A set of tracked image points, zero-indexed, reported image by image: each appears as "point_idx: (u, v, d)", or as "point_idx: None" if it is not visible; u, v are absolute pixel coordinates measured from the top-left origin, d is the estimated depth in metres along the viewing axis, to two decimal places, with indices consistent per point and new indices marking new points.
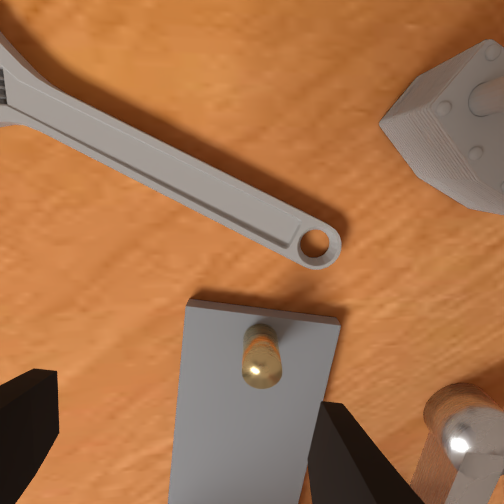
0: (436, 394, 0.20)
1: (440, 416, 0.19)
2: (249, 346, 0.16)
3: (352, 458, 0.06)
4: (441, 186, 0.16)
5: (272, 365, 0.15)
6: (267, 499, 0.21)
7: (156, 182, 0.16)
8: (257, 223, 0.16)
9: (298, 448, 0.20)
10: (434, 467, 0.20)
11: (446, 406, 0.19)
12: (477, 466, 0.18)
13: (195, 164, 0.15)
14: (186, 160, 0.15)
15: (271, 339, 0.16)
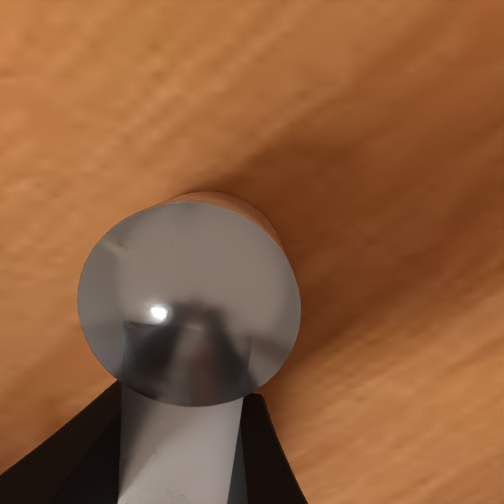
0: None
1: None
2: None
3: (243, 446, 0.06)
4: None
5: None
6: None
7: None
8: None
9: None
10: None
11: None
12: (171, 368, 0.06)
13: None
14: None
15: None
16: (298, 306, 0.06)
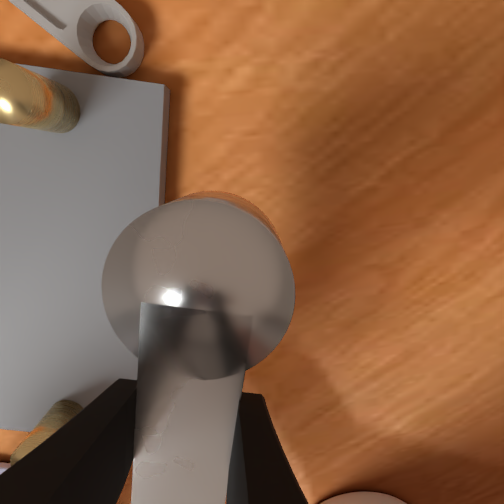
0: None
1: None
2: None
3: (243, 446, 0.06)
4: None
5: (13, 79, 0.10)
6: (110, 363, 0.16)
7: None
8: None
9: None
10: None
11: None
12: (181, 345, 0.07)
13: None
14: None
15: (44, 77, 0.11)
16: (292, 289, 0.07)
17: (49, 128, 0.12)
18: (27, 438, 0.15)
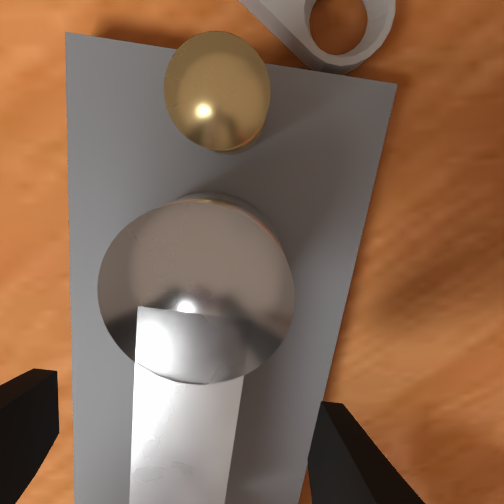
0: None
1: None
2: None
3: (352, 458, 0.06)
4: None
5: (244, 71, 0.06)
6: (250, 465, 0.12)
7: None
8: None
9: (306, 366, 0.11)
10: None
11: None
12: (179, 350, 0.07)
13: None
14: None
15: None
16: (292, 293, 0.07)
17: (238, 151, 0.08)
18: None
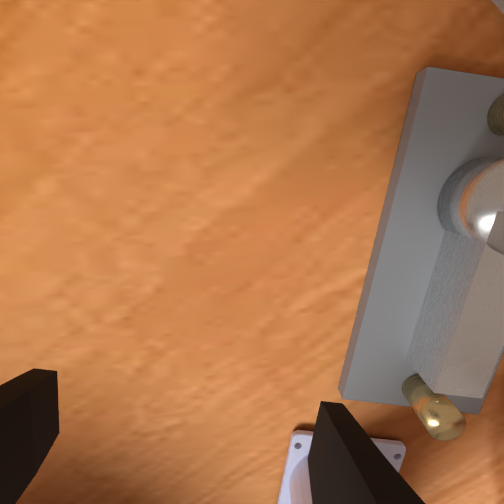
0: (454, 172, 0.16)
1: (461, 186, 0.15)
2: None
3: (352, 458, 0.06)
4: None
5: None
6: None
7: None
8: None
9: None
10: (451, 268, 0.16)
11: (468, 173, 0.15)
12: None
13: None
14: None
15: None
16: None
17: None
18: (435, 403, 0.17)
